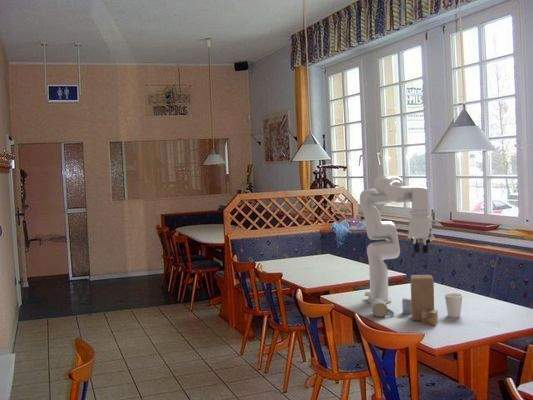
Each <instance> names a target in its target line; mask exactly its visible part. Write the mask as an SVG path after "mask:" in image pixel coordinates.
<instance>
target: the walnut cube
mask: <svg viewBox="0 0 533 400" xmlns="http://www.w3.org/2000/svg"><path fill="white" fill-rule="evenodd" d="M438 316H439V315H438V309H434V310H431V309H424V310H423V311H422V321H421V325H422V326H427V325H430V326H431V327H436V326H437V325H438V323H439V322H438V320H439V319H438ZM436 324H437V325H436ZM430 326H429V327H430Z"/></svg>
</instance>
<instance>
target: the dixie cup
mask: <svg viewBox="0 0 533 400" xmlns="http://www.w3.org/2000/svg"><path fill="white" fill-rule="evenodd" d="M444 300H445V306H446V312H447V313H446V314H447V317H449V318H460V317H461V311H462V303H463V294H462V293H457V292H452V293H451V292H450V293H448V292H447V293H445V294H444Z"/></svg>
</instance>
